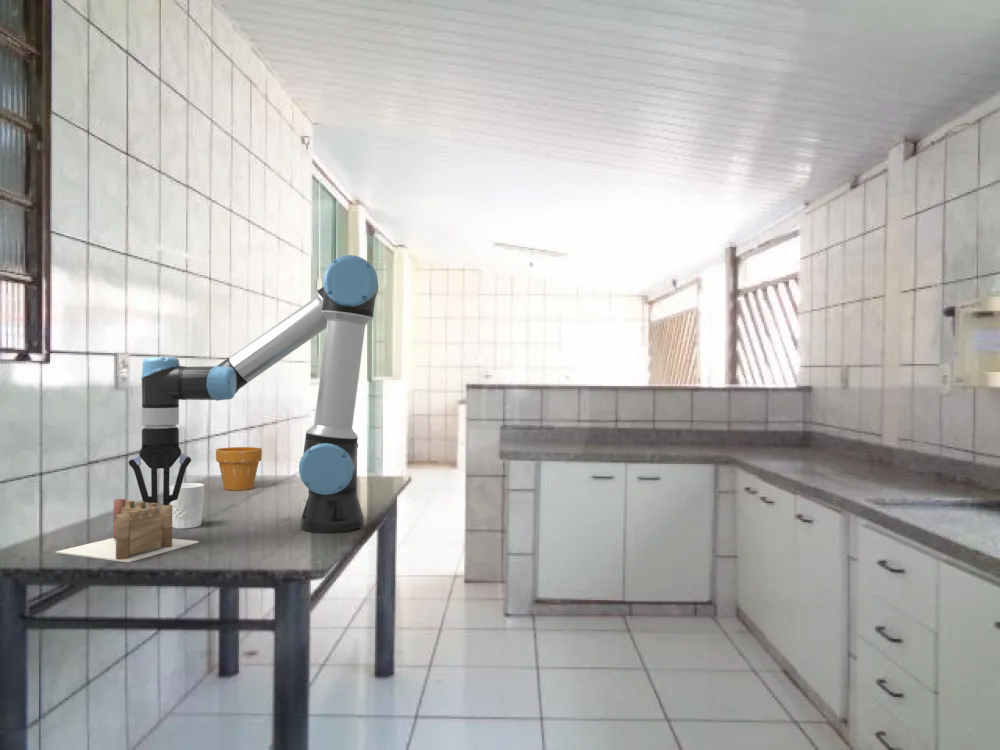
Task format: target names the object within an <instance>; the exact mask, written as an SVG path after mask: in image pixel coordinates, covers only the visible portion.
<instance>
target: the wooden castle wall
mask: <svg viewBox="0 0 1000 750" xmlns="http://www.w3.org/2000/svg"><path fill="white" fill-rule="evenodd" d="M172 538H173V527H172V505H170V504H169V505H162V506H160V514H159V513H158V507H150V508H149V509H148V508H146V509H140V510H139V511H130V512H129V514H117V515H116V559H118V560H122V559H128V558H129V555H132V554H135V553H139V552H143V551H147V550H150V549H154V548H158V547H171V546H172Z"/></svg>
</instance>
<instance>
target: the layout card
mask: <svg viewBox="0 0 1000 750" xmlns="http://www.w3.org/2000/svg"><path fill="white" fill-rule="evenodd" d="M199 543H200V541H199V540H188V539H181V538H173V537H172V546H171V547H158V548H154V549H150V550H147V551H143V552H139V553H135V554H132V555H129V558H128V559H122V560H118V559H116V539H113V537H111V538H107V539H103V540H99V541H95V542H90V543H85V544H82V545H78V546H73V547H69V548H66V549H65V548H64V549H62V550H61V549H60V550H57V551H56V550H55V552H54V553H55V554H60V555H67V556H75V557H84V558H90V559H96V560H97V559H98V560H105V561H106V560H107V561H112V562H113V561H115V562H121V563H132V562H136V561H138V560H139V561H140V560H142V559H147V558H149V557H153V556H156V555H160V554H163V553H167V552H172V551H174V550H178V549H182V548H185V547H188V546H193V545H196V544H199Z"/></svg>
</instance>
